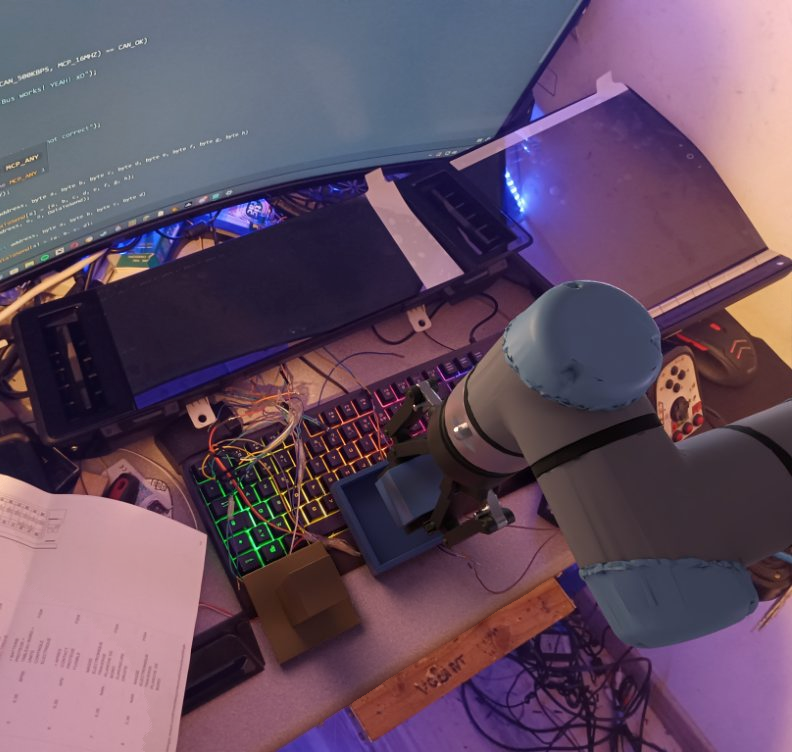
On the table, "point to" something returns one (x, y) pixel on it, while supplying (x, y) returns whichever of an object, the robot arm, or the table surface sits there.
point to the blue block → (411, 489)
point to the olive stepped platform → (300, 601)
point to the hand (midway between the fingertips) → (403, 500)
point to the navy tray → (376, 522)
